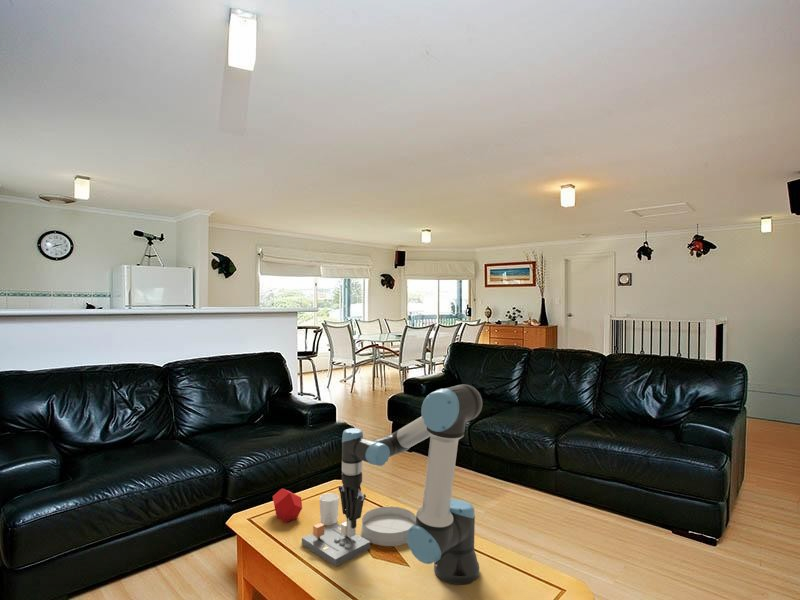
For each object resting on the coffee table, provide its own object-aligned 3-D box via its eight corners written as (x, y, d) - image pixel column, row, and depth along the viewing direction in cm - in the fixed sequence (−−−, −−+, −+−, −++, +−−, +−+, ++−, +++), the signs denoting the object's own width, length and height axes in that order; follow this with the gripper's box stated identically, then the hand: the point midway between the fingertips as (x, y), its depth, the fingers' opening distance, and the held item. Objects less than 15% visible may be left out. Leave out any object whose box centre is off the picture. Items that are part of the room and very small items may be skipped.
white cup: (340, 517, 193) (340, 493, 193) (336, 526, 185) (336, 501, 185) (322, 516, 194) (322, 492, 194) (316, 525, 186) (317, 500, 186)
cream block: (351, 536, 173) (351, 523, 173) (345, 539, 171) (345, 526, 171) (347, 533, 175) (347, 521, 175) (340, 536, 172) (341, 523, 172)
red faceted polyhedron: (277, 531, 185) (262, 506, 196) (304, 523, 193) (288, 500, 204) (284, 506, 183) (268, 482, 193) (310, 499, 191) (294, 477, 201)
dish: (351, 540, 176) (352, 527, 175) (373, 514, 196) (373, 503, 196) (407, 551, 168) (407, 537, 168) (424, 523, 189) (424, 511, 189)
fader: (324, 537, 172) (324, 524, 171) (317, 541, 169) (317, 527, 169) (320, 535, 173) (320, 522, 173) (313, 538, 171) (313, 525, 171)
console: (370, 548, 170) (370, 540, 169) (335, 566, 158) (335, 557, 158) (335, 529, 183) (335, 521, 183) (301, 544, 172) (301, 536, 172)
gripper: (371, 473, 169) (370, 538, 169) (348, 464, 178) (347, 525, 178) (355, 479, 163) (355, 546, 163) (332, 469, 172) (332, 532, 172)
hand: (351, 535), depth 171 cm, fingers closed
